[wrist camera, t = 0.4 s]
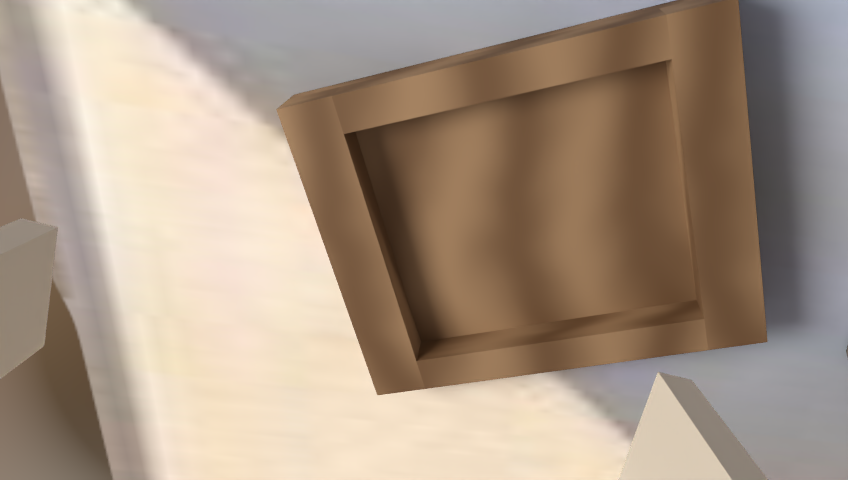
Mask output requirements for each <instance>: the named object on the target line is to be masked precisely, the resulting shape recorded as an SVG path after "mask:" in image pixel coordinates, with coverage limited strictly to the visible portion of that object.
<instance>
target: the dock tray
mask: <svg viewBox="0 0 848 480" xmlns="http://www.w3.org/2000/svg"><path fill="white" fill-rule="evenodd" d="M276 110H277V113H278V115H279V118H280V121H281V124H282V127H283V130H284V132H285V135H286V138H287V141H288V144H289V146H290V149H291V152H292V155H293V158H294V161H295V163H296V166H297V169H298V172H299V175H300V178H301V180H302V183H303V186H304V189H305V192H306V195H307V197H308V200H309V203H310V206H311V209H312V211H313V214H314V217H315V220H316V223H317V226H318V228H319V231H320V234H321V237H322V240H323V243H324V245H325V248H326V251H327V254H328V257H329V260H330V262H331V265H332V268H333V271H334V274H335V276H336V279H337V282H338V285H339V288H340V291H341V293H342V296H343V299H344V302H345V305H346V308H347V310H348V313H349V316H350V319H351V322H352V325H353V327H354V330H355V333H356V336H357V339H358V341H359V344H360V347H361V350H362V353H363V356H364V358H365V361H366V364H367V367H368V370H369V373H370V375H371V378H372V381H373V384H374V387H375V390H376V392H377V395H383V394H390V393H398V392H405V391H412V390H420V389H427V388H434V387H442V386H449V385H456V384H463V383H471V382H478V381H485V380H493V379H500V378H507V377H515V376H522V375H529V374H537V373H544V372H551V371H559V370H566V369H573V368H580V367H588V366H595V365H602V364H610V363H617V362H624V361H632V360H639V359H646V358H654V357H661V356H668V355H676V354H683V353H690V352H697V351H705V350H712V349H719V348H727V347H734V346H741V345H749V344H756V343H763V342H767V331H766V319H765V308H764V296H763V284H762V272H761V261H760V249H759V237H758V225H757V214H756V202H755V190H754V178H753V166H752V155H751V143H750V131H749V119H748V108H747V96H746V84H745V72H744V61H743V49H742V37H741V25H740V14H739V2H738V0H676V1H672V2H668V3H664V4H660V5H656V6H652V7H648V8H644V9H640V10H636V11H632V12H628V13H624V14H620V15H616V16H611V17H607V18H603V19H599V20H595V21H591V22H587V23H583V24H579V25H575V26H571V27H567V28H563V29H559V30H555V31H551V32H547V33H543V34H539V35H534V36H530V37H526V38H522V39H518V40H514V41H510V42H506V43H502V44H498V45H494V46H490V47H486V48H482V49H478V50H474V51H470V52H466V53H462V54H457V55H453V56H449V57H445V58H441V59H437V60H433V61H429V62H425V63H421V64H417V65H413V66H409V67H405V68H401V69H397V70H393V71H389V72H385V73H380V74H376V75H372V76H368V77H364V78H360V79H356V80H352V81H348V82H344V83H340V84H336V85H332V86H328V87H324V88H320V89H316V90H312V91H307V92H303V93H299V94H295V95H293V96H292V97H291V98H290V99H288V100H287V101H286V102H285V103H284V104H282V105H281V106H280V107H279V108H278V109H276Z"/></svg>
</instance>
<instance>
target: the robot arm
mask: <svg viewBox="0 0 848 480" xmlns="http://www.w3.org/2000/svg"><path fill="white" fill-rule="evenodd" d="M57 231H58V227H55V226H51V225H46V224H42V223H38V222H34V221H30V220H26V219H22V218H21V219H19V220H16V221H14V222H11V223H9V224H7V225H4V226H2V227H0V379H1V378H2V377H4V376H5V375H6V374H8V373H9V372H10V371H11V370H13V369H14V368H15V367H17V366H18V365H19V364H21V363H22V362H23V361H25V360H26V359H27V358H29V357H30V356H31V355H33V354H34V353H35V352H36V351H38V350H39V349H40V348H42V347H43V346H44V342H45V334H46V325H47V316H48V307H49V299H50V290H51V282H52V274H53V265H54V256H55V248H56V239H57ZM618 480H768V479H767V477H766V476H765V475H764V473H763V472H762V471H761V470H760V468H759V467H758V466H757V464H756V463H755V462H754V460H753V459H752V458H751V457H750V455H749V454H748V453H747V451H746V450H745V449H744V447H743V446H742V445H741V444H740V442H739V441H738V440H737V438H736V437H735V436H734V434H733V433H732V432H731V431H730V429H729V428H728V427H727V425H726V424H725V423H724V421H723V420H722V419H721V417H720V416H719V415H718V414H717V412H716V411H715V410H714V408H713V407H712V406H711V404H710V403H709V402H708V401H707V399H706V398H705V397H704V395H703V394H702V393H701V391H700V390H699V389H698V388H697V386H696V385H695V384H694V382H693V381H692V380H690V379H686V378H681V377H677V376H673V375H669V374H665V373H661V372H658V374H657V376H656V379H655V382H654V385H653V387H652V390H651V393H650V395H649V398H648V401H647V403H646V406H645V409H644V412H643V414H642V417H641V420H640V422H639V425H638V428H637V431H636V433H635V436H634V439H633V441H632V444H631V447H630V449H629V452H628V455H627V458H626V460H625V463H624V466H623V468H622V471H621V474H620V476H619V479H618Z"/></svg>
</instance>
